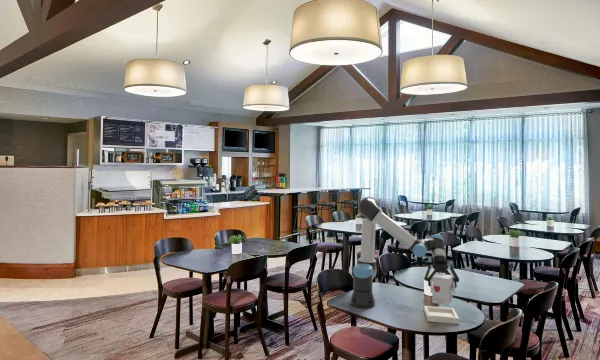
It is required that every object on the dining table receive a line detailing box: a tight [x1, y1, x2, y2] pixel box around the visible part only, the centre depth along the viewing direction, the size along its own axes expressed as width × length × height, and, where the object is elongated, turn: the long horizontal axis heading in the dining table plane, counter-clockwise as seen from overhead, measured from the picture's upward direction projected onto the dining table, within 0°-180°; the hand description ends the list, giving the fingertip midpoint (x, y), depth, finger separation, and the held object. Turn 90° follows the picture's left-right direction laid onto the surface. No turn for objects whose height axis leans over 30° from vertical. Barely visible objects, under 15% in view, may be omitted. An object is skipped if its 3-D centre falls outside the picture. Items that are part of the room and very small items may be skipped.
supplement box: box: [431, 272, 454, 306], centre depth 219 cm, size 9×9×15 cm
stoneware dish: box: [423, 305, 460, 325], centre depth 220 cm, size 16×16×3 cm
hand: (443, 292), depth 217 cm, fingers closed on supplement box, 11 cm apart
